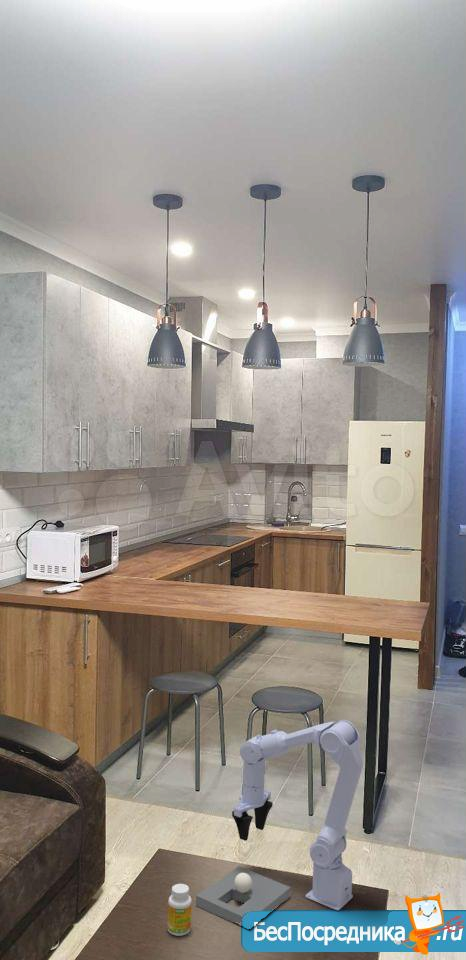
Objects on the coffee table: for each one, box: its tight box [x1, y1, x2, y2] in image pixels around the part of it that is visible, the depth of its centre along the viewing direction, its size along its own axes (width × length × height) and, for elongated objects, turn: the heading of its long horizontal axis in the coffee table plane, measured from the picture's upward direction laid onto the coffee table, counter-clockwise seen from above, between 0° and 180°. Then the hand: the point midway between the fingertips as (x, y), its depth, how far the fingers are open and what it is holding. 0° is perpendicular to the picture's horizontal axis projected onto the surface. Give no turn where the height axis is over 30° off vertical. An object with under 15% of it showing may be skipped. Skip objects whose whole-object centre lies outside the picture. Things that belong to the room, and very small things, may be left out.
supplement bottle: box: [167, 883, 192, 937], centre depth 180 cm, size 5×5×10 cm
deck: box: [195, 866, 291, 923], centre depth 192 cm, size 16×18×2 cm
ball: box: [234, 873, 252, 893], centre depth 192 cm, size 4×4×4 cm
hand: (251, 833), depth 207 cm, fingers open, 7 cm apart
